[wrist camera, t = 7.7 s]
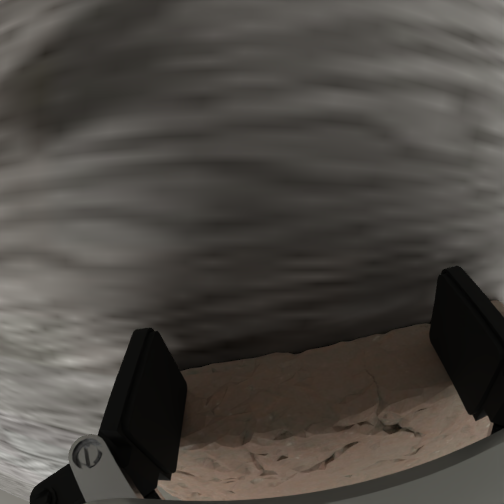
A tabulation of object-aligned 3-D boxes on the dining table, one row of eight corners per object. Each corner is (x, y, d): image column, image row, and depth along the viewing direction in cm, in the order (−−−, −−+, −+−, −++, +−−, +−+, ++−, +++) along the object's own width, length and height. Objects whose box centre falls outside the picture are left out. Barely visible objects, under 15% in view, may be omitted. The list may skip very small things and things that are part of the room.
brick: (501, 287, 11) (558, 354, 7) (466, 397, 15) (493, 456, 11) (139, 358, 13) (108, 448, 9) (200, 450, 17) (192, 517, 12)
